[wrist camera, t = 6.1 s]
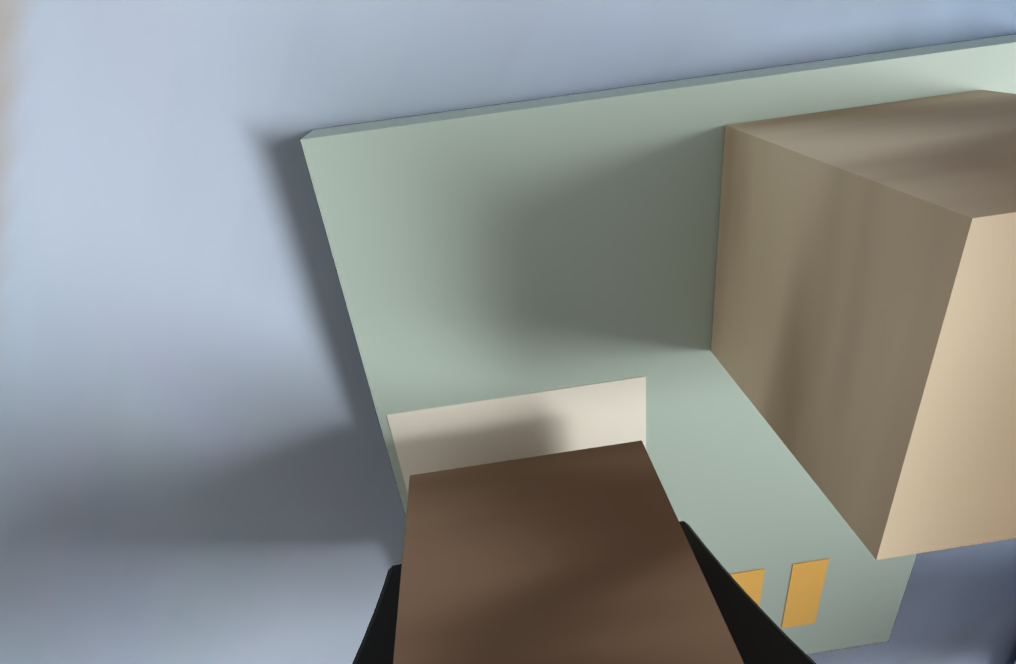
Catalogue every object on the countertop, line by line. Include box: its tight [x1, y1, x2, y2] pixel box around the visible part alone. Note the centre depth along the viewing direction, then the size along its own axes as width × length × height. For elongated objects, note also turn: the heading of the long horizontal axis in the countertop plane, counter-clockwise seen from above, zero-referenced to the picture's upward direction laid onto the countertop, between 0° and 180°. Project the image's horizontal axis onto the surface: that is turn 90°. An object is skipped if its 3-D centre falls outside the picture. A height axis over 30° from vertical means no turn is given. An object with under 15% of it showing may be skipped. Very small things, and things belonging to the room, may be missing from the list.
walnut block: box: [393, 440, 744, 664], centre depth 10 cm, size 5×5×5 cm
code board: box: [300, 34, 1016, 654], centre depth 14 cm, size 14×17×1 cm
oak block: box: [711, 90, 1016, 560], centre depth 9 cm, size 5×5×5 cm
